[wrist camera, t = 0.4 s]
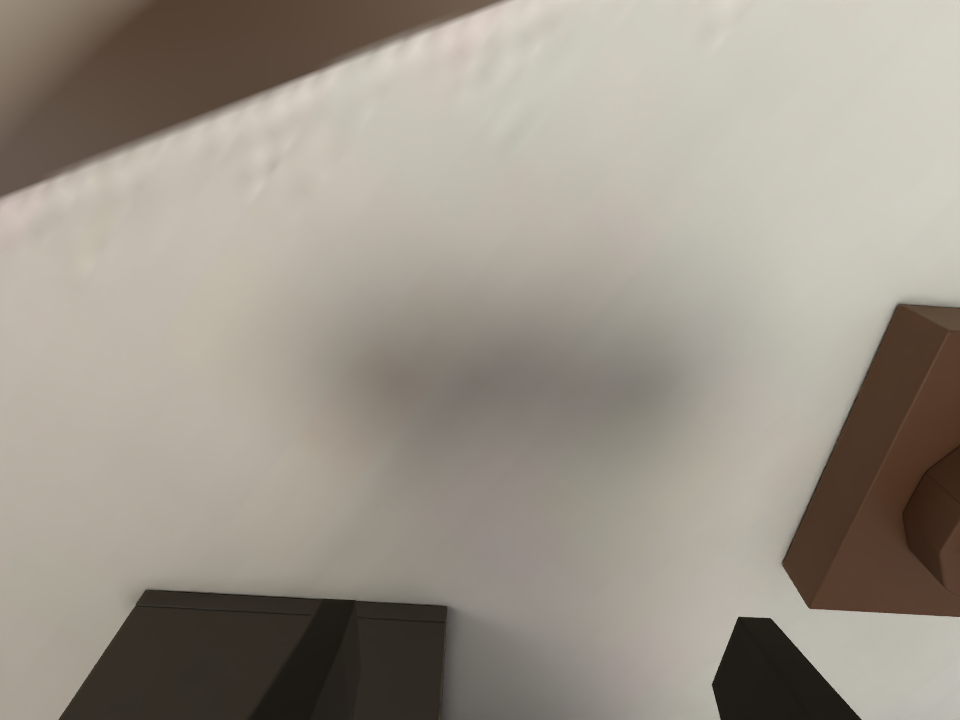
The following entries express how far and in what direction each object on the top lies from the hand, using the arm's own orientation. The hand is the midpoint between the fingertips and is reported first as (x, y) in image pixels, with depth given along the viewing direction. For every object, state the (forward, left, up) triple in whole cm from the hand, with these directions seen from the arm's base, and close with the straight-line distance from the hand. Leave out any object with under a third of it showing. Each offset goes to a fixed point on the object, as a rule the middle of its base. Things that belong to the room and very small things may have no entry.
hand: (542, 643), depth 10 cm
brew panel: (-2, -17, -10) cm, 20 cm away
